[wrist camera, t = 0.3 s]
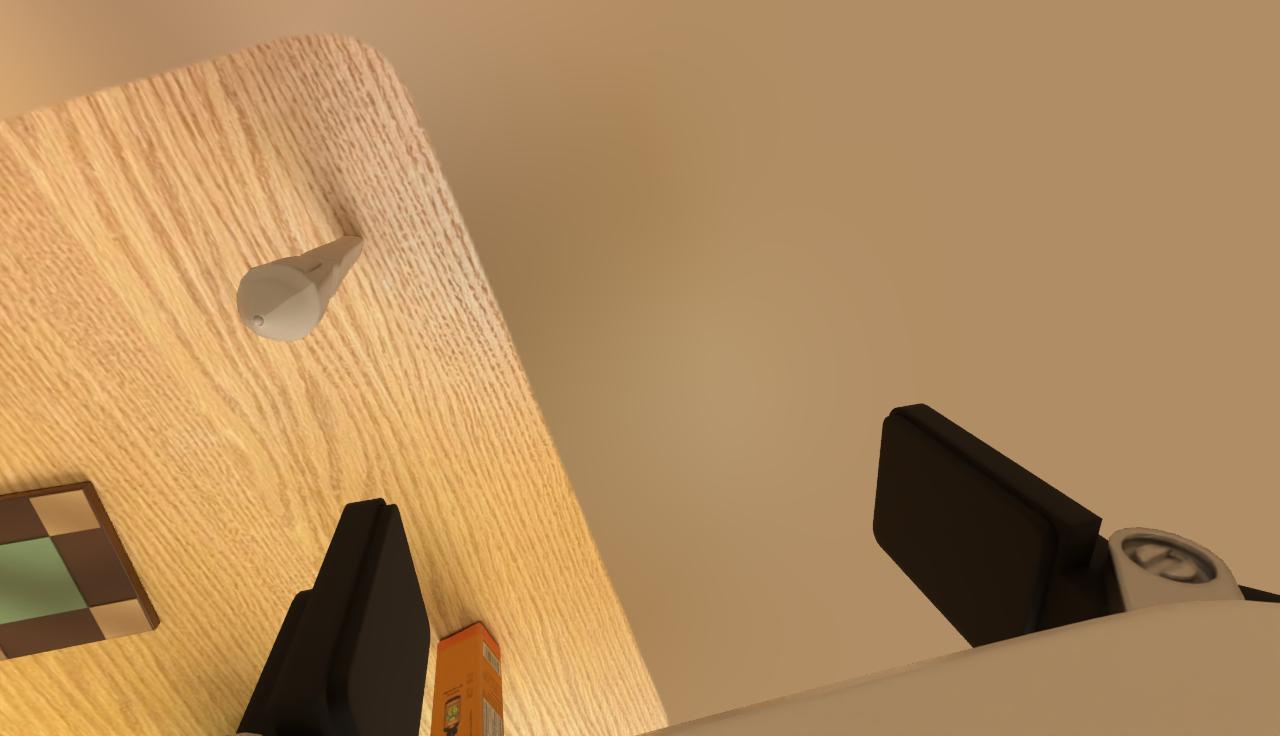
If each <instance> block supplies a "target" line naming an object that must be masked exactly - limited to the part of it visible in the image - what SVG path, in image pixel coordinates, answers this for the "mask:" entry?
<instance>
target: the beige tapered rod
mask: <svg viewBox="0 0 1280 736" xmlns="http://www.w3.org/2000/svg"><path fill="white" fill-rule="evenodd" d="M362 244H363V238H361V237H357V236H353V235H348V236H344V237H341V238H340V239H337V240H335V241H333V242H331V243H328V244H326V245H323V246H320V247H318V248H315V249H313V250H310V251H308V252H306V253H304V254H302V255H301V256H295V257H287V258H282V259H278V260H275V261H272V262H270V263H267V264H264V265H260V266H257V267H254V268H251V269H250V270H249V271H248V272H247V274H246V275H245V276H244V277H243V278H242V279H241V282H240V285H239V288H238V292H237V306H238V312H239V314H240V316H241V318H242V320H243V322H244V324H245V325H246V326H247V327H248V328H249V329H251V330H252V331H253V332H255V333H256V334H257V335H259V336H262V337H265V338H268V339H271V340H274V341H294V340H298V339H301V338H304V337H306V336H307V335H308V334H309V333H310V332H311V331H312V330H313V329H314V328H315V327H316V325H318V323H319V322H320V321H321V319H322V318H323V316H324V313H325V311H326V309H327V306H328V303H329V299H330V298H332V297H333V296H334V295H335V294H336V291H337V289H338V287H339V286H340V284H341V282H342V280H343V279H344V277H345V276H346V274H347V273H348V271H349V270H350V269H351V267H352V266H353V265H354V263H355V262H356V261H357V260H358V258H359V257H360V254H361V250H362Z"/></svg>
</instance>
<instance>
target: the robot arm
mask: <svg viewBox="0 0 1280 736" xmlns="http://www.w3.org/2000/svg"><path fill="white" fill-rule="evenodd" d="M1101 522H1102V518H1100V517H1099V516H1097V515H1095V514H1094V513H1092V512H1091V511H1089V510H1088V509H1086V508H1084V507H1083V506H1081V505H1080V504H1079V503H1077V502H1075V501H1074V500H1072V499H1071V498H1069V497H1068V496H1066V495H1065V494H1063V493H1062V492H1060V491H1058V490H1057V489H1055V488H1054V487H1052V486H1051V485H1049V484H1048V483H1046V482H1045V481H1043V480H1042V479H1040V478H1038V477H1037V476H1035V475H1034V474H1032V473H1031V472H1029V471H1028V470H1026V469H1025V468H1023V467H1021V466H1020V465H1018V464H1017V463H1015V462H1014V461H1012V460H1011V459H1009V458H1008V457H1006V456H1004V455H1003V454H1001V453H1000V452H998V451H997V450H995V449H994V448H992V447H991V446H989V445H987V444H986V443H984V442H983V441H981V440H980V439H978V438H977V437H975V436H974V435H972V434H971V433H969V432H967V431H966V430H964V429H963V428H961V427H960V426H958V425H957V424H955V423H954V422H952V421H950V420H949V419H947V418H946V417H944V416H943V415H941V414H940V413H938V412H937V411H935V410H933V409H932V408H930V407H929V406H927V405H925V404H915V405H909V406H903V407H897V408H894V409H893V410H892V411H891V413H890V415H889V416H888V417H886V418H885V420H884V422H883V428H882V439H881V448H880V458H879V468H878V479H877V489H876V499H875V509H874V520H873V532H874V536H875V539H876V541H877V543H878V544H879V545H880V547H881V548H882V549H883V550H884V551H885V552H886V553H887V554H888V555H889V556H890V557H891V558H892V560H893V561H894V562H895V563H896V564H897V565H898V566H899V567H900V568H901V569H902V571H903V572H904V573H905V574H906V575H907V576H908V577H909V578H910V579H911V580H912V581H913V583H914V584H915V585H916V586H917V587H918V588H919V589H920V590H921V591H922V592H923V593H924V595H925V596H926V597H927V598H928V599H929V600H930V601H931V602H932V603H933V604H934V606H935V607H936V608H937V609H938V610H939V611H940V612H941V613H942V614H943V615H944V616H945V617H946V619H947V620H948V621H949V622H950V623H951V624H952V625H953V626H954V627H955V628H956V630H957V631H958V632H959V633H960V634H961V635H962V636H963V637H964V638H965V639H966V640H967V642H969V644H970V645H971V646H972V647H973V648H972V649H968V650H964V651H960V652H956V653H952V654H948V655H945V656H941V657H936V658H932V659H928V660H925V661H920V662H916V663H912V664H909V665H904V666H901V667H897V668H893V669H889V670H885V671H881V672H877V673H873V674H870V675H866V676H862V677H858V678H854V679H850V680H846V681H842V682H839V683H835V684H831V685H827V686H823V687H819V688H816V689H811V690H808V691H804V692H800V693H796V694H792V695H788V696H784V697H781V698H777V699H773V700H769V701H766V702H762V703H758V704H754V705H750V706H746V707H742V708H738V709H734V710H731V711H727V712H723V713H719V714H715V715H712V716H708V717H704V718H700V719H697V720H693V721H689V722H685V723H681V724H678V725H674V726H670V727H666V728H663V729H659V730H655V731H651V732H648V733H644V734H640V735H636V736H1280V595H1277V594H1272V593H1269V592H1265V591H1261V590H1257V589H1253V588H1249V587H1245V586H1241V585H1237V583H1236V580H1235V579H1234V577H1233V575H1232V573H1231V571H1230V569H1229V568H1228V567H1227V565H1226V564H1225V563H1224V562H1223V560H1222V559H1220V558H1219V557H1218V556H1217V555H1215V554H1214V553H1213V552H1211V551H1210V550H1209V549H1207V548H1205V547H1203V546H1201V545H1199V544H1197V543H1196V542H1194V541H1192V540H1189V539H1186V538H1184V537H1181V536H1179V535H1176V534H1173V533H1169V532H1165V531H1161V530H1157V529H1149V528H1141V527H1136V528H1124V529H1121V530H1118V531H1116V532H1114V533H1113V534H1112V535H1111V536H1110V538H1109V541H1108V540H1106V539H1105V538H1103V537H1102V536H1100V535H1099V534H1098V533H1099V530H1100V526H1101ZM429 648H430V626H429V620H428V616H427V613H426V609H425V605H424V601H423V598H422V594H421V590H420V587H419V583H418V579H417V575H416V572H415V568H414V564H413V561H412V557H411V553H410V549H409V546H408V542H407V538H406V534H405V531H404V527H403V523H402V520H401V516H400V512H399V509H398V507H397V505H396V504H391V505H386V502H385V501H384V499H383V498H377V499H372V500H366V501H360V502H354V503H349V504H346V506H345V508H344V510H343V513H342V515H341V518H340V520H339V523H338V525H337V528H336V531H335V533H334V536H333V538H332V541H331V543H330V546H329V548H328V551H327V553H326V556H325V558H324V561H323V564H322V566H321V569H320V571H319V574H318V576H317V579H316V581H315V584H314V586H313V589H310V590H305V591H301V592H299V593H298V594H297V595H296V596H295V598H294V600H293V601H292V603H291V606H290V608H289V610H288V613H287V615H286V617H285V620H284V622H283V624H282V627H281V629H280V631H279V634H278V636H277V638H276V641H275V643H274V645H273V648H272V650H271V653H270V655H269V657H268V660H267V662H266V664H265V667H264V669H263V671H262V674H261V676H260V678H259V681H258V683H257V685H256V688H255V690H254V692H253V695H252V697H251V699H250V702H249V704H248V706H247V709H246V711H245V713H244V716H243V718H242V721H241V723H240V725H239V728H238V730H237V732H236V734H233V735H227V736H419V728H420V720H421V712H422V704H423V696H424V688H425V680H426V672H427V664H428V656H429Z"/></svg>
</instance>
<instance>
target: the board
mask: <svg viewBox="0 0 1280 736" xmlns="http://www.w3.org/2000/svg"><path fill="white" fill-rule="evenodd" d="M159 624H160V621H159V619H158V617H157V615H156V613H155V611H154V609H153V607H152V605H151V603H150V601H149V599H148V597H147V595H146V593H145V591H144V589H143V587H142V585H141V583H140V581H139V579H138V577H137V575H136V573H135V571H134V569H133V567H132V565H131V563H130V561H129V559H128V557H127V555H126V553H125V551H124V549H123V547H122V545H121V543H120V541H119V539H118V536H117V534H116V532H115V530H114V528H113V526H112V524H111V522H110V520H109V518H108V516H107V514H106V512H105V510H104V508H103V506H102V504H101V502H100V500H99V498H98V496H97V494H96V492H95V490H94V488H93V486H92V484H91V482H85V483H79V484H73V485H66V486H60V487H54V488H48V489H41V490H35V491H29V492H22V493H16V494H10V495H3V496H0V661H2V660H7V659H12V658H17V657H22V656H27V655H32V654H37V653H42V652H47V651H52V650H57V649H62V648H67V647H72V646H77V645H82V644H87V643H92V642H97V641H102V640H108V639H113V638H118V637H123V636H128V635H133V634H138V633H143V632H148V631H152V630H155V629H156V628H157V627H158V625H159Z"/></svg>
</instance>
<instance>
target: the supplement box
mask: <svg viewBox="0 0 1280 736" xmlns="http://www.w3.org/2000/svg"><path fill="white" fill-rule="evenodd" d="M431 736H504V725H503V697H502V677H501V655H500V648H499V647H498V646H497V644H496V643H495V641H494V640H493V639H492V637H491V636H490V635H489V634H488V632H487V631H486V629H485V628H484V627H483V625H482V624H481V623H477V624H474V625H472V626H471V627H469V628H467V629H465V630H463V631H461V632H459V633H457V634H455V635H453V636H451V637H449V638H447V639H445V640H442V641H440V642H439V643H438V647H437V661H436V673H435V686H434V698H433V711H432V724H431Z"/></svg>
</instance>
